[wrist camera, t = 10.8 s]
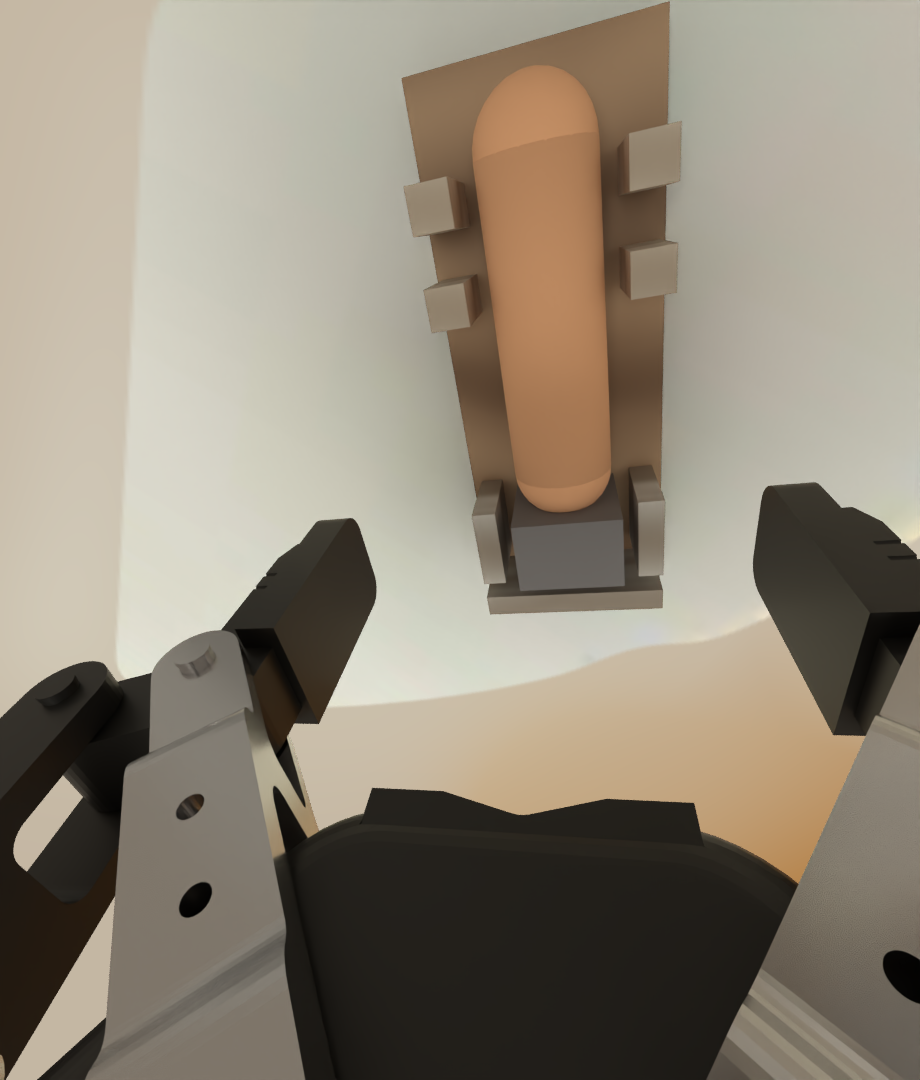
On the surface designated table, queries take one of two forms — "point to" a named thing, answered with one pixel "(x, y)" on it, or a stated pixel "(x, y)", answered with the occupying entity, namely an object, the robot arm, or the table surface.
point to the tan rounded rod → (551, 324)
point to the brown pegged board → (629, 267)
